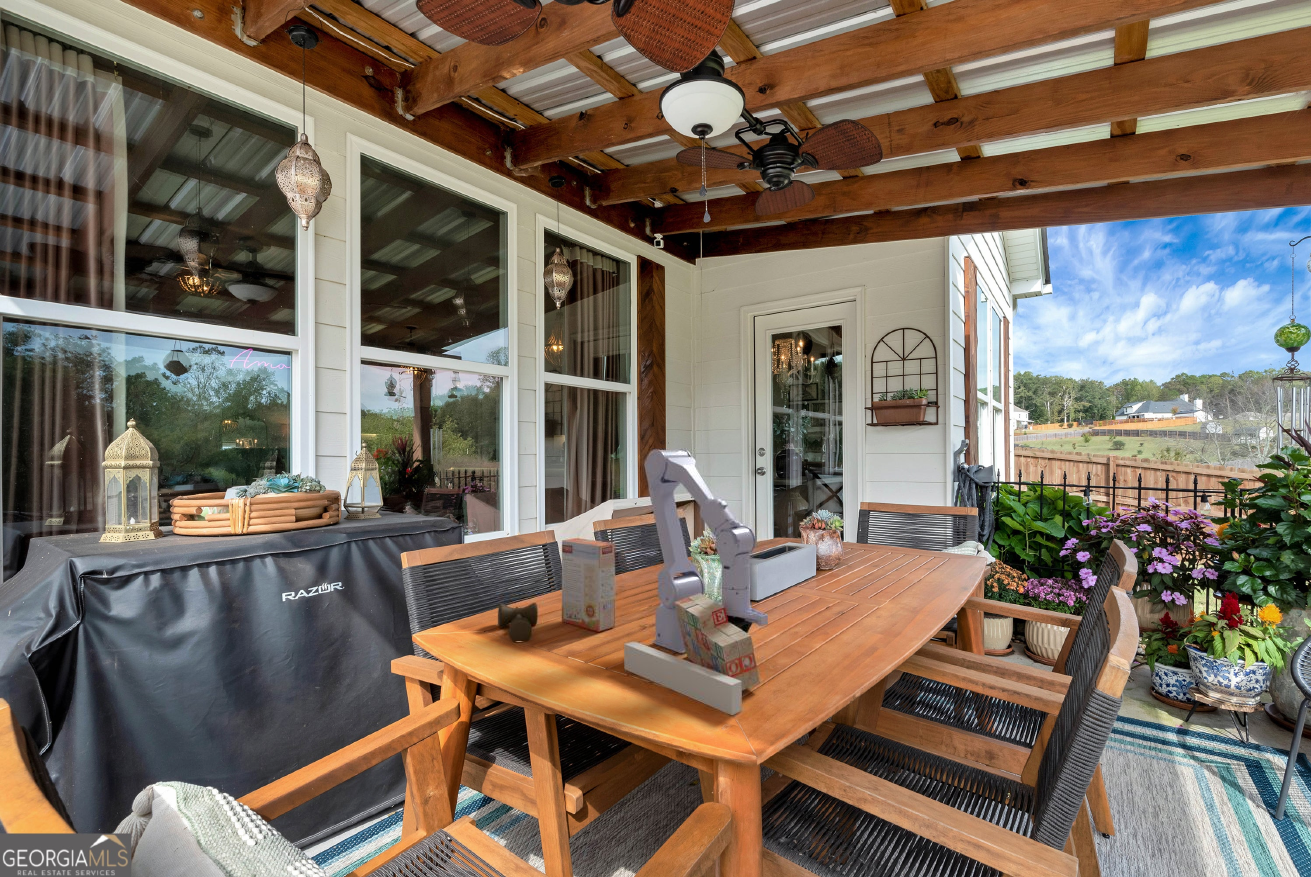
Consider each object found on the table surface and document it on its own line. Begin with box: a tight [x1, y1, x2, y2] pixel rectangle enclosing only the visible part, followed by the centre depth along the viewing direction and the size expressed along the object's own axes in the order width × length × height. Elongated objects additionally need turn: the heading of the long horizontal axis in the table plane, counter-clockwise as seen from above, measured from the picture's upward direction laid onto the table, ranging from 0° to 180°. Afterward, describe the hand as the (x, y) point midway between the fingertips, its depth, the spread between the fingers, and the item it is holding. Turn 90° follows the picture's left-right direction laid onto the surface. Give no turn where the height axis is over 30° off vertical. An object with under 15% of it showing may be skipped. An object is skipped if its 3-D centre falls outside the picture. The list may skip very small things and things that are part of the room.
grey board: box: [623, 640, 743, 716], centre depth 110 cm, size 28×2×5 cm, turn 43°
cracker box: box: [561, 537, 616, 633], centre depth 149 cm, size 14×6×21 cm, turn 48°
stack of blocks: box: [675, 593, 761, 691], centre depth 117 cm, size 21×6×12 cm, turn 19°
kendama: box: [497, 602, 539, 642], centre depth 145 cm, size 6×10×20 cm
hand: (736, 653), depth 121 cm, fingers closed
